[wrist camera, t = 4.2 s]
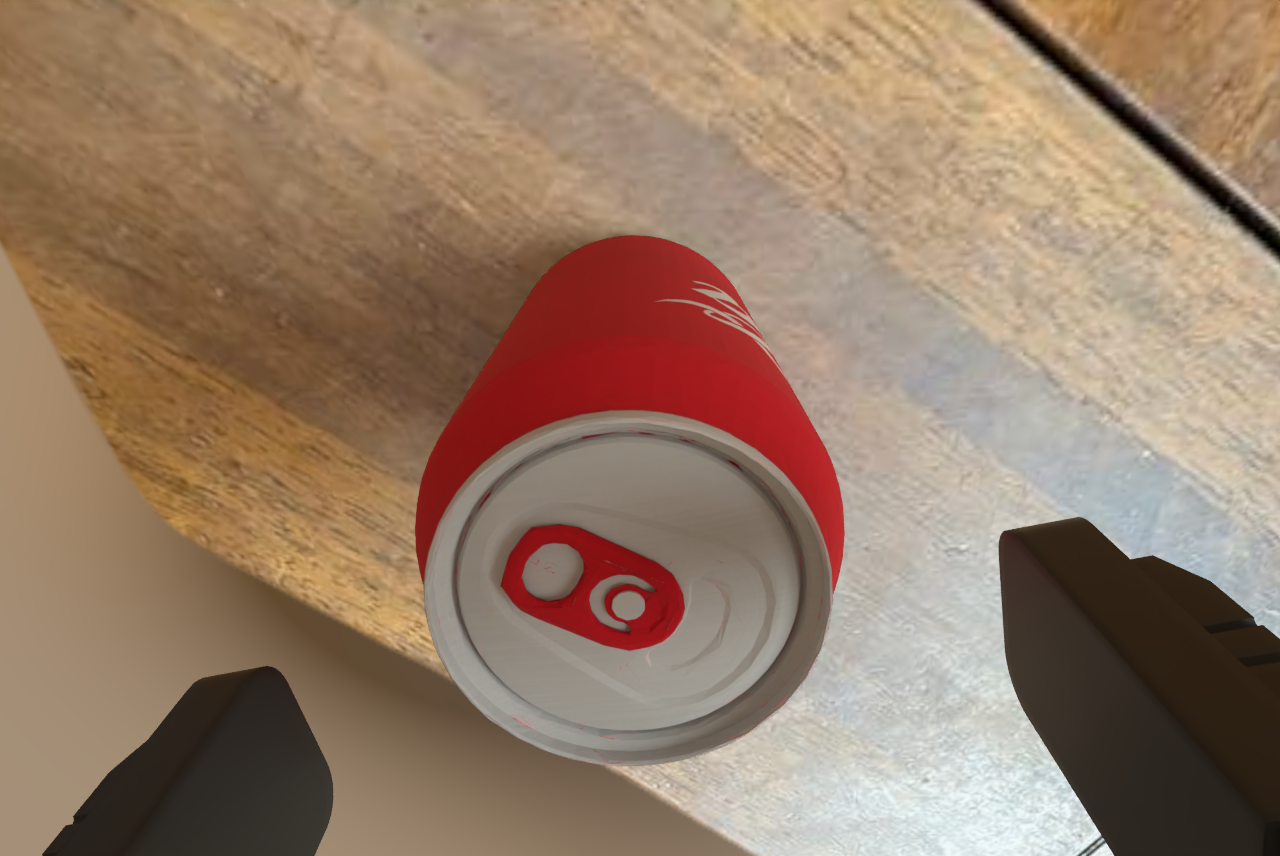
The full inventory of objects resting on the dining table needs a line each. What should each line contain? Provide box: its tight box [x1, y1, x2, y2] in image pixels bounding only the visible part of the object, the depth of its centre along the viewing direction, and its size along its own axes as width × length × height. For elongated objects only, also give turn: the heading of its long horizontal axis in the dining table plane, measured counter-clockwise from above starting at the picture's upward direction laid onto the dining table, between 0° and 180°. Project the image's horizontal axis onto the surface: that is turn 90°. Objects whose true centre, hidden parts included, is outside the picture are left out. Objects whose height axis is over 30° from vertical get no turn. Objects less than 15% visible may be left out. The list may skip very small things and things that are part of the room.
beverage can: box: [415, 236, 845, 766], centre depth 15 cm, size 6×6×12 cm
